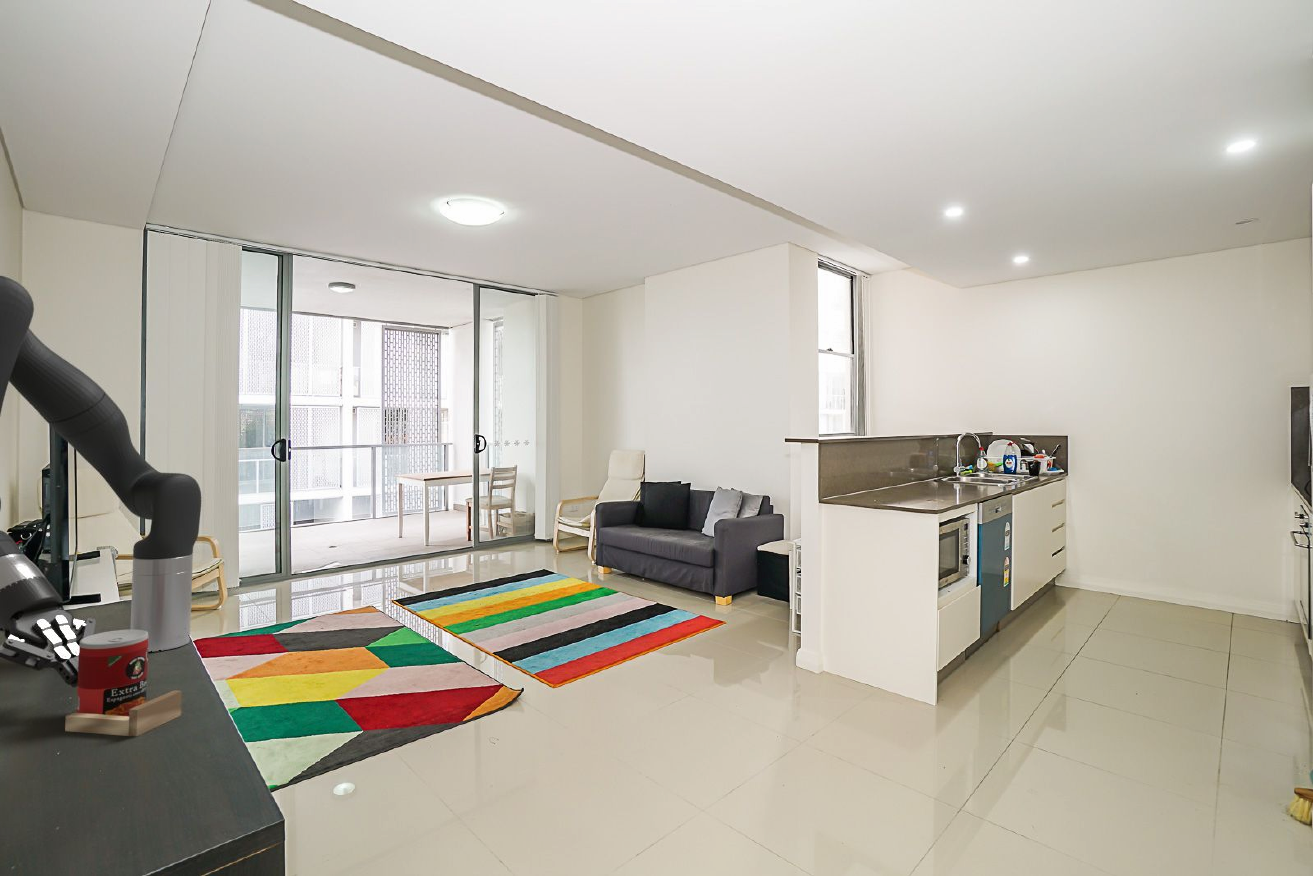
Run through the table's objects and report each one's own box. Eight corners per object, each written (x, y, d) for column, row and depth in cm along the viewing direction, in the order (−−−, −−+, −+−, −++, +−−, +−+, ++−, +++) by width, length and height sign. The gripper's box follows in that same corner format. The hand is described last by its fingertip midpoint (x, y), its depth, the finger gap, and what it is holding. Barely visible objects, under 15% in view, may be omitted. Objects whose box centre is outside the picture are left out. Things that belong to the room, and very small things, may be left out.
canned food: (109, 726, 89) (112, 646, 89) (60, 721, 90) (63, 642, 90) (160, 705, 96) (162, 631, 97) (114, 701, 98) (117, 627, 98)
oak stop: (65, 731, 87) (66, 704, 87) (114, 710, 94) (115, 686, 94) (136, 736, 86) (137, 710, 86) (181, 715, 93) (181, 690, 93)
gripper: (-22, 584, 89) (52, 680, 87) (76, 567, 102) (142, 651, 100) (-57, 621, 89) (16, 717, 87) (45, 599, 102) (110, 683, 101)
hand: (83, 682), depth 94 cm, fingers closed
